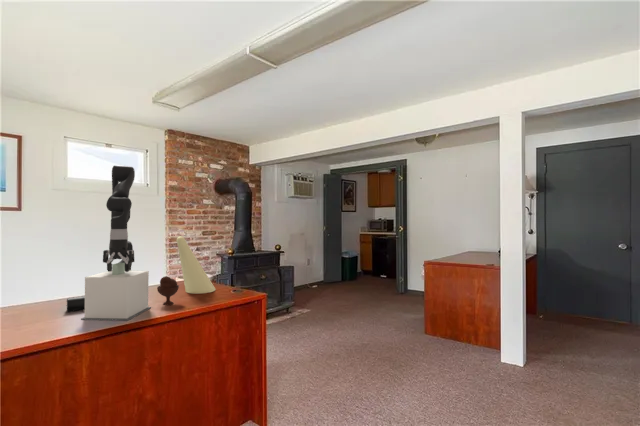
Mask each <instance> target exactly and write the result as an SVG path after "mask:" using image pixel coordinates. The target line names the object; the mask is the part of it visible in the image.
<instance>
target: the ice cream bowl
mask: <svg viewBox="0 0 640 426" xmlns="http://www.w3.org/2000/svg"><path fill="white" fill-rule="evenodd" d="M159 284H160V285H159V286H157V292H158V293H159V294H160V295H161V296H163V297H165V298H166V300H165V301H164V302H162V306H172V305H174V302H173V301H171V297H172V296H174V295H175V294H176V293H177V292H178V291H179V288H180V285H178V282H177V281H176V279H173V278H172V277H170V276H163V277H161V278H160V281H159Z"/></svg>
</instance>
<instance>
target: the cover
mask: <svg viewBox="0 0 640 426" xmlns="http://www.w3.org/2000/svg"><path fill="white" fill-rule="evenodd" d="M149 272H150V271H149V270H131V271H128V272H125V263H119V262H117V263H116V262H115V263H112V271H110V272H108V270H107V271H103V272H99V273H96V274H91V275H88V276H85V277H84V296H85V310H84V317H85V318H122V319H127V318H129V317H131V316H133V315H134V314H136V313H138V312H140V311H142V310H144V309H146V308H148V307H149V276H150V275H149Z"/></svg>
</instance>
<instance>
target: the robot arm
mask: <svg viewBox="0 0 640 426" xmlns="http://www.w3.org/2000/svg"><path fill="white" fill-rule="evenodd" d="M135 176H136V171H135V168H134V167H133V166H129V165H118V164H117V165H116V164H115V165H112V168H111V190H112V191H111V195H110V196H109V197H108V198H107V201H106V204H105V205H106V208H107V210H108V211H109V212H111V213H110V217H111V219H110V233H109V244H108V249H106V250H103V251H102V252H103V253H102V254H103V255H102V263H105V264H106V270H107V271H108V272H110V271H112V264H113V262H114V261H115V260H119V262H118V263H125V272H128V271H132V264H133V263H135V250H134V248H133V243H132V242H131V241H130V240H129V238H128V237H129V233H128V223H129V221H130V218H131V208H132V203H133V202H132V200H131V199H130V198H129V197H130V190H131V188H132V186H133V183H134V181H135Z"/></svg>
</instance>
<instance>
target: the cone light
mask: <svg viewBox="0 0 640 426" xmlns="http://www.w3.org/2000/svg"><path fill="white" fill-rule="evenodd" d="M175 241H176V243H177V249H178V255H179V260H180V266H181V272H182V278H183V284H184V289H185V290H184V291H185V293H188V294H197V295H198V294H207V293H212V292H215V291H216V287H215V286H214V284H213V283H212V281H211V279H210V277H209V276H208V274H207V272H205V270H204V268H203V266H202V265H201V263H200V261H199V260H198V258H197V257H196V255H195V253H194V252H193V250H192V249H191V247H190V246H189V243H188V242H187V240H186V238H185V237H184V236H178V237H177V238H176V240H175Z"/></svg>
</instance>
